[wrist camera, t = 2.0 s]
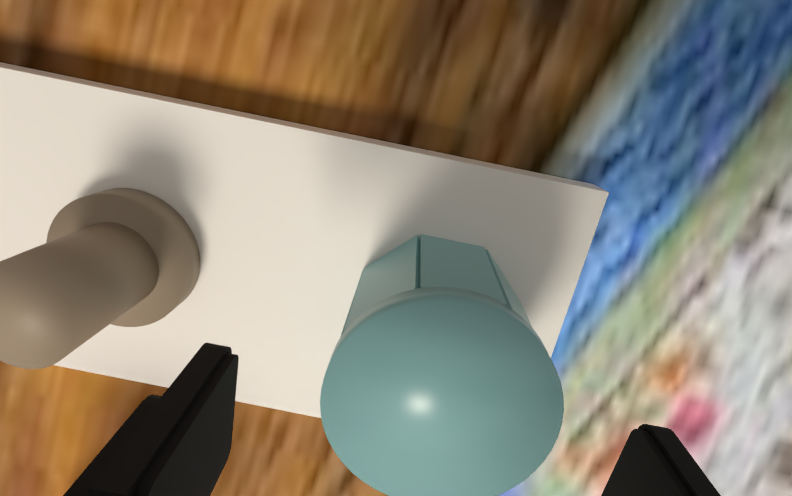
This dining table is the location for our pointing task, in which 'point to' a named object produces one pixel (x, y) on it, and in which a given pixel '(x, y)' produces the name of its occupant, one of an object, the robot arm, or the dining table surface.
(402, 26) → the dining table surface
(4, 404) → the dining table surface
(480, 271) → the cap
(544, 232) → the board
